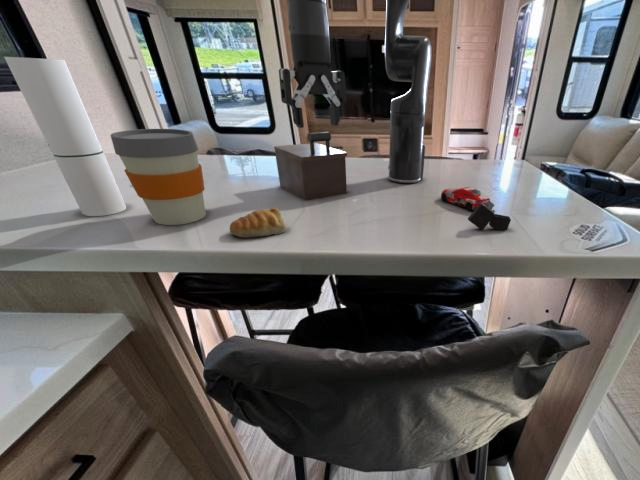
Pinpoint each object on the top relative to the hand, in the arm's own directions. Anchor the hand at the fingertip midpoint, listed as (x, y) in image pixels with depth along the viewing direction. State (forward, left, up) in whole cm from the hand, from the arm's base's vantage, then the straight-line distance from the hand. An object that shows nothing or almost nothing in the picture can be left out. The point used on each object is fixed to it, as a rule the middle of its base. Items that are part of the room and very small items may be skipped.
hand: (317, 126), depth 74 cm
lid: (0, -5, -6) cm, 8 cm away
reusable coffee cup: (+31, -2, -15) cm, 35 cm away
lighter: (-16, +38, -15) cm, 44 cm away
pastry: (+21, +14, -15) cm, 30 cm away
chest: (0, -5, -15) cm, 16 cm away
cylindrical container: (+42, -14, -15) cm, 47 cm away
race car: (-24, +25, -15) cm, 38 cm away
